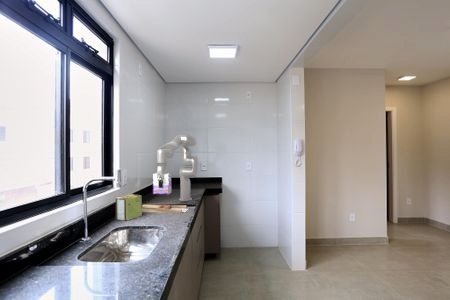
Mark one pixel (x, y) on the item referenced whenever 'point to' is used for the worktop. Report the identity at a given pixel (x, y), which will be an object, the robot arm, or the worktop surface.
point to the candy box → (166, 184)
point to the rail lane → (163, 209)
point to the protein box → (128, 207)
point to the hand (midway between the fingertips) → (162, 186)
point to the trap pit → (164, 207)
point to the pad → (182, 209)
